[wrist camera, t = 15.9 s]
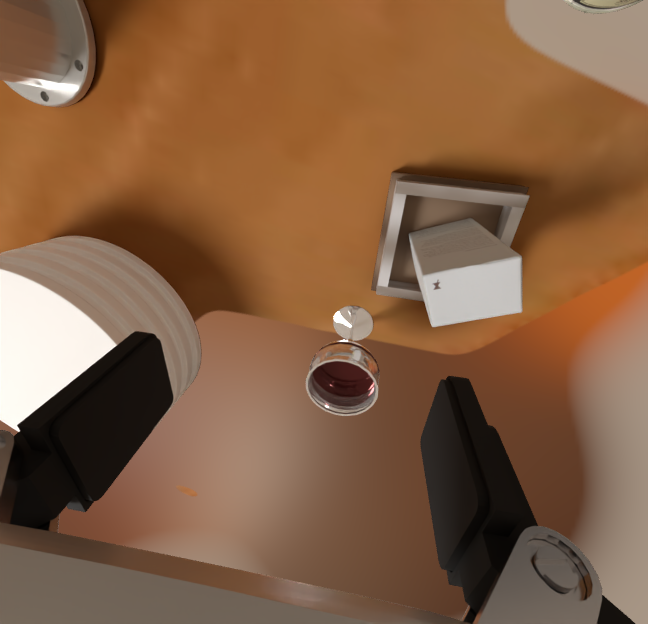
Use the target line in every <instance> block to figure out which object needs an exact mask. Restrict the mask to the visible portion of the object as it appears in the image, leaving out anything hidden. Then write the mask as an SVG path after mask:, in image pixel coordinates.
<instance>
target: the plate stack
mask: <svg viewBox="0 0 648 624" xmlns="http://www.w3.org/2000/svg"><path fill="white" fill-rule="evenodd" d="M135 331H140V332H147V333H153V334H155V335H156V336H157V338H158V339H159V340H160V341H161V344H162V349H163V353H164V357H165V362H166V366H167V370H168V375H169V379H170V383H171V387H172V392H173V397H174V398H173V403H172V405H171V407H170V408H169V409H168V411H169V410H170V409H171V408H172V407H173V405H174V404H175V402H177V400H178V399H179V398H180V397H181V396H182V394H183V393H184V392H185V391H186V390H187V388H188V387H189V386H190V385H191V384H192V382H193V381H194V379H195V378H196V376H197V373H198V371H199V368H200V364H201V354H202V353H201V342H200V337H199V333H198V330H197V327H196V324H195V322H194V321H193V318H192V316H191V314H190V312H189V311H188V309H187V307H186V305H185V304H184V302H183V301H182V299H181V298H180V297H179V295H178V294H177V293H176V291H175V290H174V289H173V288H172V287H171V285H170V284H169V283H168V282H167V281H166V280H165V279H164V278H163V277H162V276H161V275H160V274H159V273H158V272H157V271H155V270H154V269H153V268H152V267H151V266H149V265H148V264H147V263H145V262H144V261H143V260H141V259H140V258H138V257H137V256H135V255H133V254H132V253H130V252H128V251H126V250H125V249H123V248H121V247H118V246H116V245H114V244H111V243H109V242H106V241H103V240H100V239H96V238H91V237H85V236H63V237H58V238H54V239H50V240H47V241H44V242H40V243H36V244H32V245H28V246H25V247H22V248H17V249H13V250H10V251H6V252H3V253H0V420H2V421H3V422H4V423H6V424H7V425H9V426H10V427H12V428H13V429H15V430H17V431H18V432H20V430H19V428H18V427H17V425H18V424H19V423H20V422H21V421H23V420H24V419H25V418H26V417H28V416H29V415H30V414H31V413H33V412H34V411H35V410H36V409H38V408H39V407H40V406H41V405H43V404H44V403H45V402H46V401H48V400H49V399H50V398H52V397H53V396H54V395H55V394H57V393H58V392H59V391H60V390H62V389H63V388H64V387H65V386H67V385H68V384H69V383H70V382H72V381H73V380H74V379H75V378H77V377H78V376H79V375H80V374H82V373H83V372H84V371H85V370H87V369H88V368H89V367H90V366H92V365H93V364H94V363H95V362H97V361H98V360H99V359H100V358H102V357H103V356H104V355H105V354H107V353H108V352H109V351H110V350H112V349H113V348H114V347H115V346H117V345H118V344H119V343H120V342H122V341H123V340H124V339H125V338H127V337H128V336H129V335H130V334H132V333H133V332H135ZM168 411H167V412H166V413H165V415H166V414H167V413H168ZM165 415H164V416H165ZM164 416H163V417H164ZM163 417H162V419H163ZM162 419H161V420H162ZM161 420H160V421H161ZM160 421H159V422H160ZM158 424H159V423H158ZM158 424H157V425H158ZM157 425H156V426H157Z"/></svg>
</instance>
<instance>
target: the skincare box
mask: <svg viewBox="0 0 648 624" xmlns="http://www.w3.org/2000/svg"><path fill="white" fill-rule="evenodd" d="M409 239H410V245H411V251H412V257H413V262H414V266H415V271H416V275H417V279H418V282H419V285H420V289H421V292H422V295H423V299H424V302H425V306H426V309H427V313H428V316H429V320H430V323H431V326H432V327H437V326H443V325H449V324H455V323H461V322H467V321H473V320H478V319H484V318H490V317H496V316H502V315H508V314H514V313H521V312H522V256H521V255H519V254H518V253H517V252H515V251H514V250H512V249H511V248H510V247H509V246H507V245H506V244H505V243H503V242H502V241H501V240H499V239H498V238H497V237H496V236H494V235H493V234H492V233H490V232H489V231H488V230H487V229H485V228H484V227H483V226H481V225H480V224H479V223H478V222H476V221H475V220H474V219H472V218H468V219H464V220H460V221H455V222H451V223H447V224H443V225H439V226H435V227H431V228H427V229H423V230H419V231H415V232H411V233H409Z"/></svg>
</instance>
